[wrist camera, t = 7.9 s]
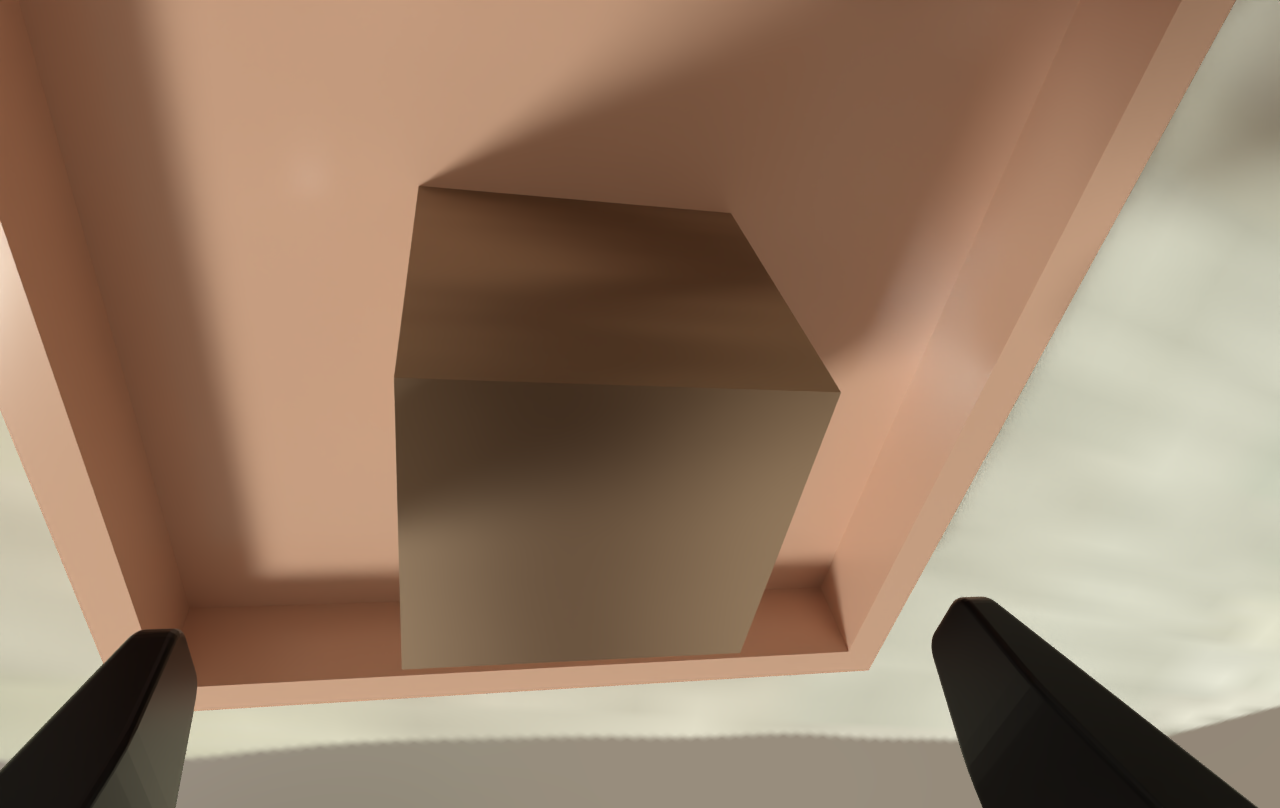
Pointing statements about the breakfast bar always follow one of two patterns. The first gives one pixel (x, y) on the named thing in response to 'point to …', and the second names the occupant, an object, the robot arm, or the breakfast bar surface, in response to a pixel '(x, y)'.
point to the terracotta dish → (537, 166)
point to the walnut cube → (592, 430)
